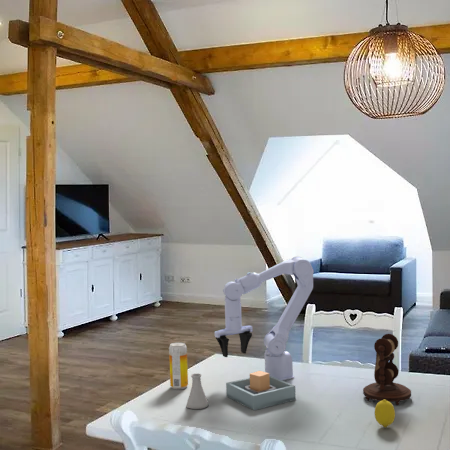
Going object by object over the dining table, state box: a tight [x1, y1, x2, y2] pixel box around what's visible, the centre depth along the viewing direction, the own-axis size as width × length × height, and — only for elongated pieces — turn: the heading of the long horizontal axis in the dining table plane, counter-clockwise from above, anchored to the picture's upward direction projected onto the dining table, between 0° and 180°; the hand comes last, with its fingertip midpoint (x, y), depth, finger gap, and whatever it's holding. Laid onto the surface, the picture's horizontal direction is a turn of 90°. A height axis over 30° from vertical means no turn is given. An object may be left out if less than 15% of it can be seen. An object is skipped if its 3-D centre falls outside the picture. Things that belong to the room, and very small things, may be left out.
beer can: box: [168, 341, 189, 390], centre depth 224 cm, size 6×6×15 cm
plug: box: [249, 370, 270, 392], centre depth 210 cm, size 4×4×7 cm
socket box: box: [225, 375, 297, 411], centre depth 210 cm, size 16×16×4 cm
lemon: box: [374, 399, 396, 428], centre depth 182 cm, size 6×6×8 cm
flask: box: [185, 372, 209, 410], centre depth 205 cm, size 7×7×10 cm
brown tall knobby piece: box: [362, 333, 412, 406], centre depth 206 cm, size 15×15×20 cm
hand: (234, 354), depth 228 cm, fingers open, 7 cm apart
